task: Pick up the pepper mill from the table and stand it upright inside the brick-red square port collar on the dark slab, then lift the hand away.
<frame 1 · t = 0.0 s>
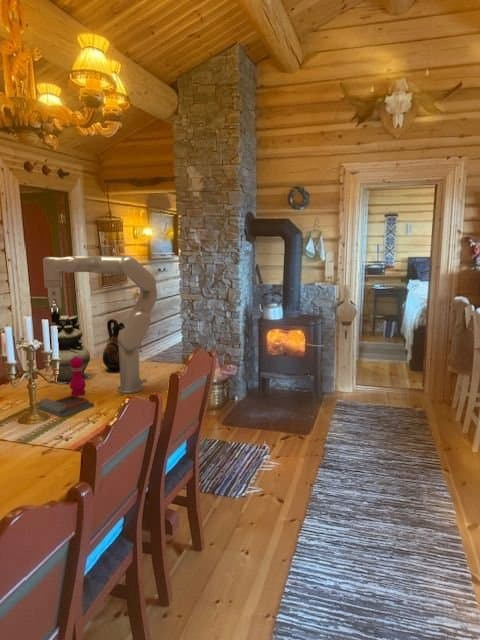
hand: (55, 320, 210), 37 cm above the table, tool pointing down, fingers open, 9 cm apart
decorative urn: (71, 379, 247), on the table
ceramic jug: (115, 370, 264), on the table
pepper mill: (78, 394, 221), on the table
dark slab: (66, 407, 202), on the table
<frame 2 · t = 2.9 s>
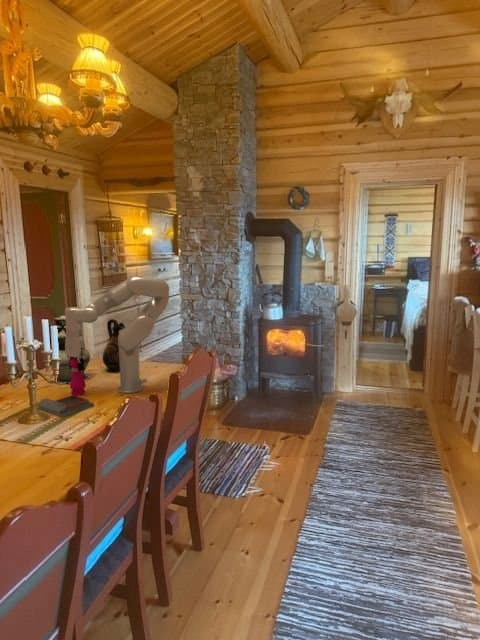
hand: (76, 369, 219), 13 cm above the table, tool pointing down, fingers closed on pepper mill, 6 cm apart
pepper mill: (78, 394, 221), on the table, touching gripper
everything else where it was.
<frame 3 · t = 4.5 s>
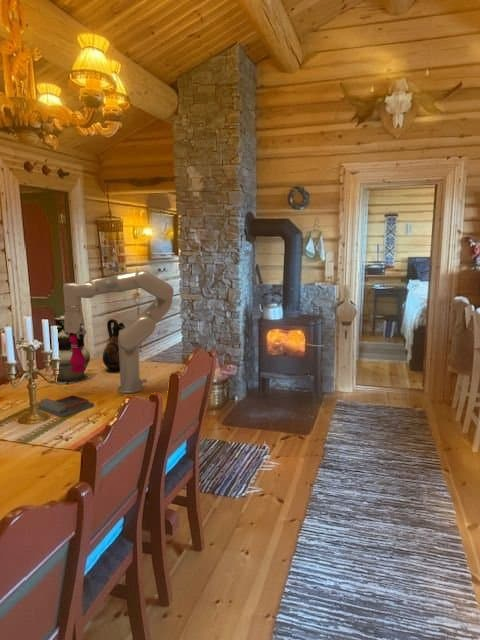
hand: (76, 345, 217), 24 cm above the table, tool pointing down, fingers closed on pepper mill, 6 cm apart
pepper mill: (78, 371, 219), point 11 cm above the table, touching gripper
everything else where it was.
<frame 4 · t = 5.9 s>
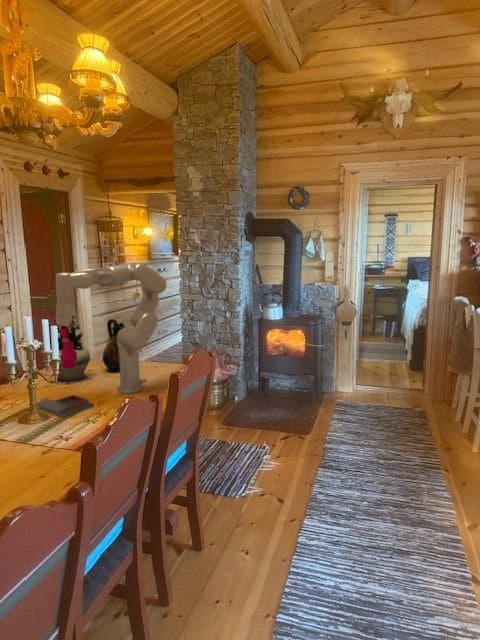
hand: (68, 339, 203), 30 cm above the table, tool pointing down, fingers closed on pepper mill, 6 cm apart
pepper mill: (69, 367, 205), point 17 cm above the table, touching gripper
everything else where it was.
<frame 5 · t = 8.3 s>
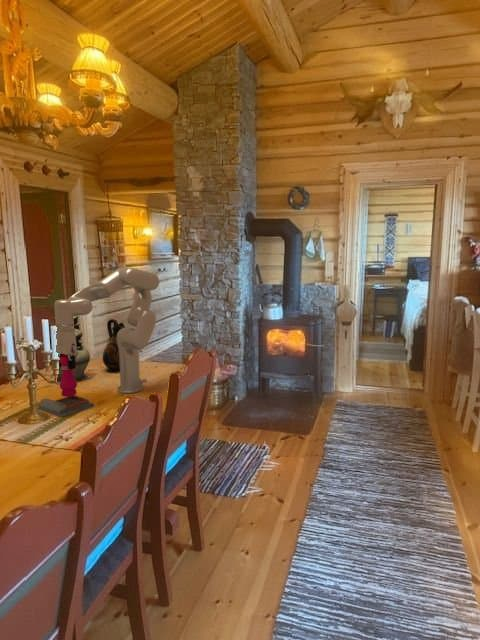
hand: (67, 367, 200), 18 cm above the table, tool pointing down, fingers closed on pepper mill, 6 cm apart
pepper mill: (69, 394, 202), point 5 cm above the table, touching gripper
everything else where it was.
when the fingers open (16 cm above the table, at t = 9.3 s): pepper mill drops 2 cm, resting on dark slab.
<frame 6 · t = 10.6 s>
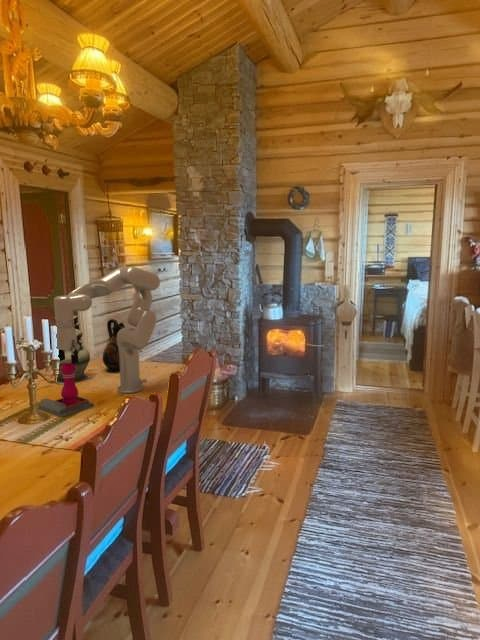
hand: (68, 361, 200), 21 cm above the table, tool pointing down, fingers open, 9 cm apart
pepper mill: (70, 403, 203), point 1 cm above the table, touching dark slab
everything else where it was.
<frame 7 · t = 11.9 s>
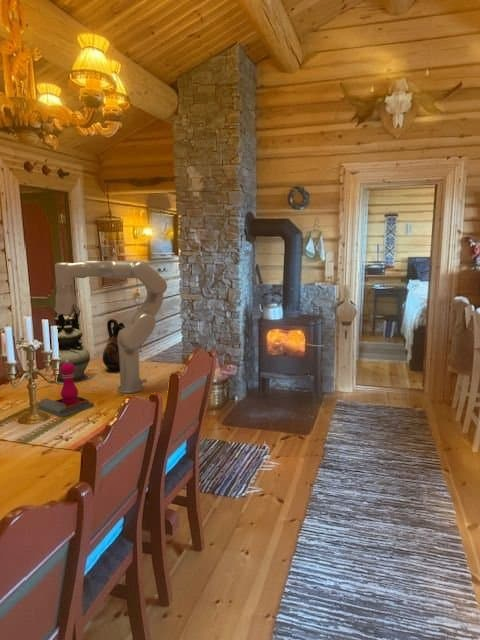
hand: (68, 326, 209), 35 cm above the table, tool pointing down, fingers open, 9 cm apart
nothing on the table moved.
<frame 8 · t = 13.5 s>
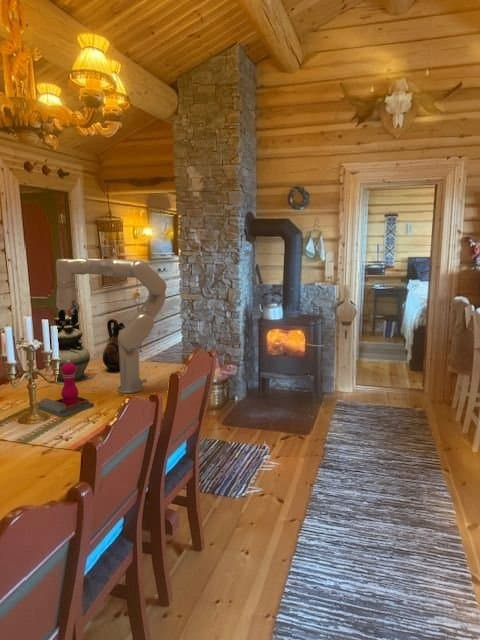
hand: (68, 321, 212), 36 cm above the table, tool pointing down, fingers open, 9 cm apart
nothing on the table moved.
at the end: pepper mill 0.2 cm from the target spot on the dark slab, point 1.4 cm above the dark slab's base; pepper mill tilted 1°; the gripper is holding nothing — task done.
